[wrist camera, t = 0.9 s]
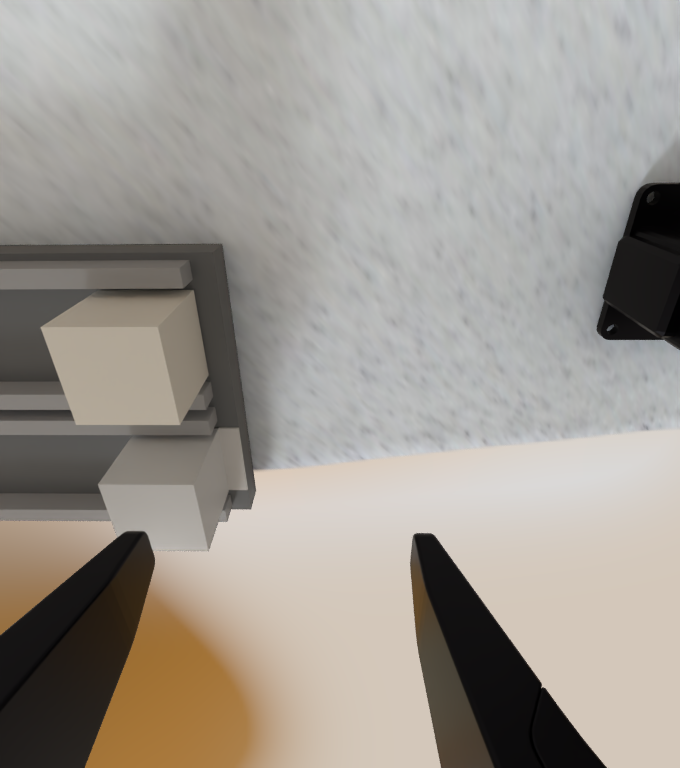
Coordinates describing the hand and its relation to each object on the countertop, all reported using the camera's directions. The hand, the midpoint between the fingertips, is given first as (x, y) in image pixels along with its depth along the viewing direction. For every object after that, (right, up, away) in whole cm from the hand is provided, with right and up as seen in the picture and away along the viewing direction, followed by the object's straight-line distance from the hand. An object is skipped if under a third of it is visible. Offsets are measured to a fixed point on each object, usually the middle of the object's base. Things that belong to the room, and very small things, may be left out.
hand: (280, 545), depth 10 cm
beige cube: (-7, +6, +10) cm, 13 cm away
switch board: (-12, +3, +13) cm, 18 cm away
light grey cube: (-7, 0, +13) cm, 15 cm away
